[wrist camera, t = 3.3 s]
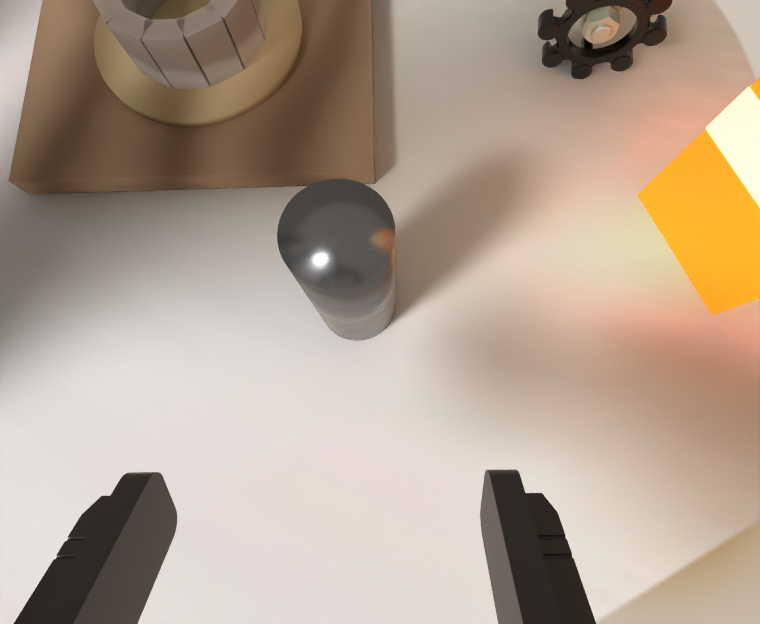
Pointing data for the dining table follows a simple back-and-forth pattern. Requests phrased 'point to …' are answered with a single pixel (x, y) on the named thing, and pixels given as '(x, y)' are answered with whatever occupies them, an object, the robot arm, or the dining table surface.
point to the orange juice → (715, 205)
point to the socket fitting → (197, 95)
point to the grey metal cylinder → (342, 254)
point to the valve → (600, 33)
